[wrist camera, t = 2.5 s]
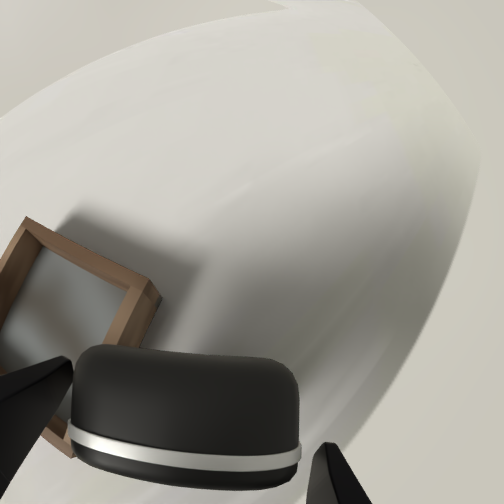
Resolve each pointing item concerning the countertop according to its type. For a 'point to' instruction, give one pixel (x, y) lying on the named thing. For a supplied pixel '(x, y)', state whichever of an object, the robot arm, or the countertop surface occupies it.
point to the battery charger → (185, 418)
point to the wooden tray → (65, 307)
